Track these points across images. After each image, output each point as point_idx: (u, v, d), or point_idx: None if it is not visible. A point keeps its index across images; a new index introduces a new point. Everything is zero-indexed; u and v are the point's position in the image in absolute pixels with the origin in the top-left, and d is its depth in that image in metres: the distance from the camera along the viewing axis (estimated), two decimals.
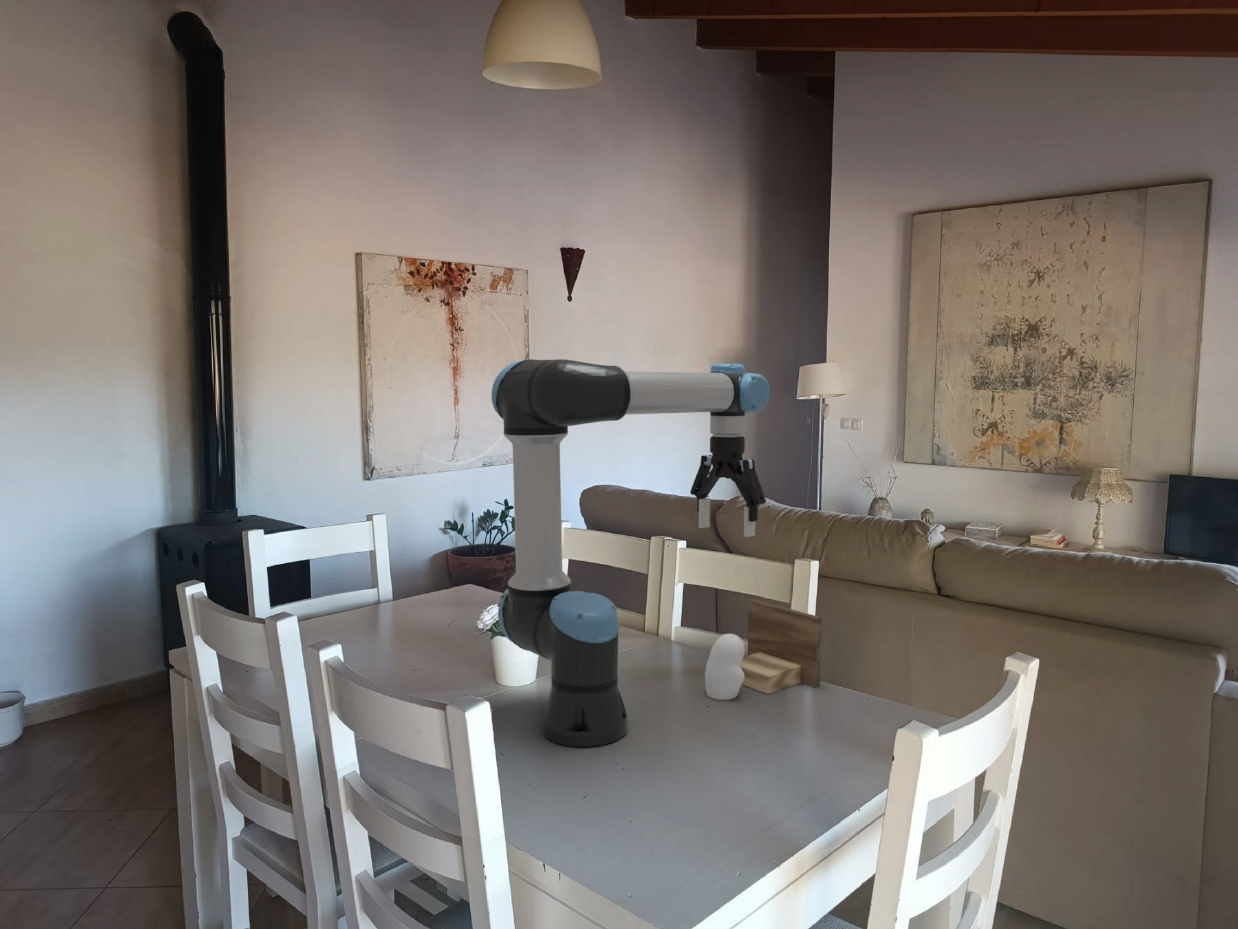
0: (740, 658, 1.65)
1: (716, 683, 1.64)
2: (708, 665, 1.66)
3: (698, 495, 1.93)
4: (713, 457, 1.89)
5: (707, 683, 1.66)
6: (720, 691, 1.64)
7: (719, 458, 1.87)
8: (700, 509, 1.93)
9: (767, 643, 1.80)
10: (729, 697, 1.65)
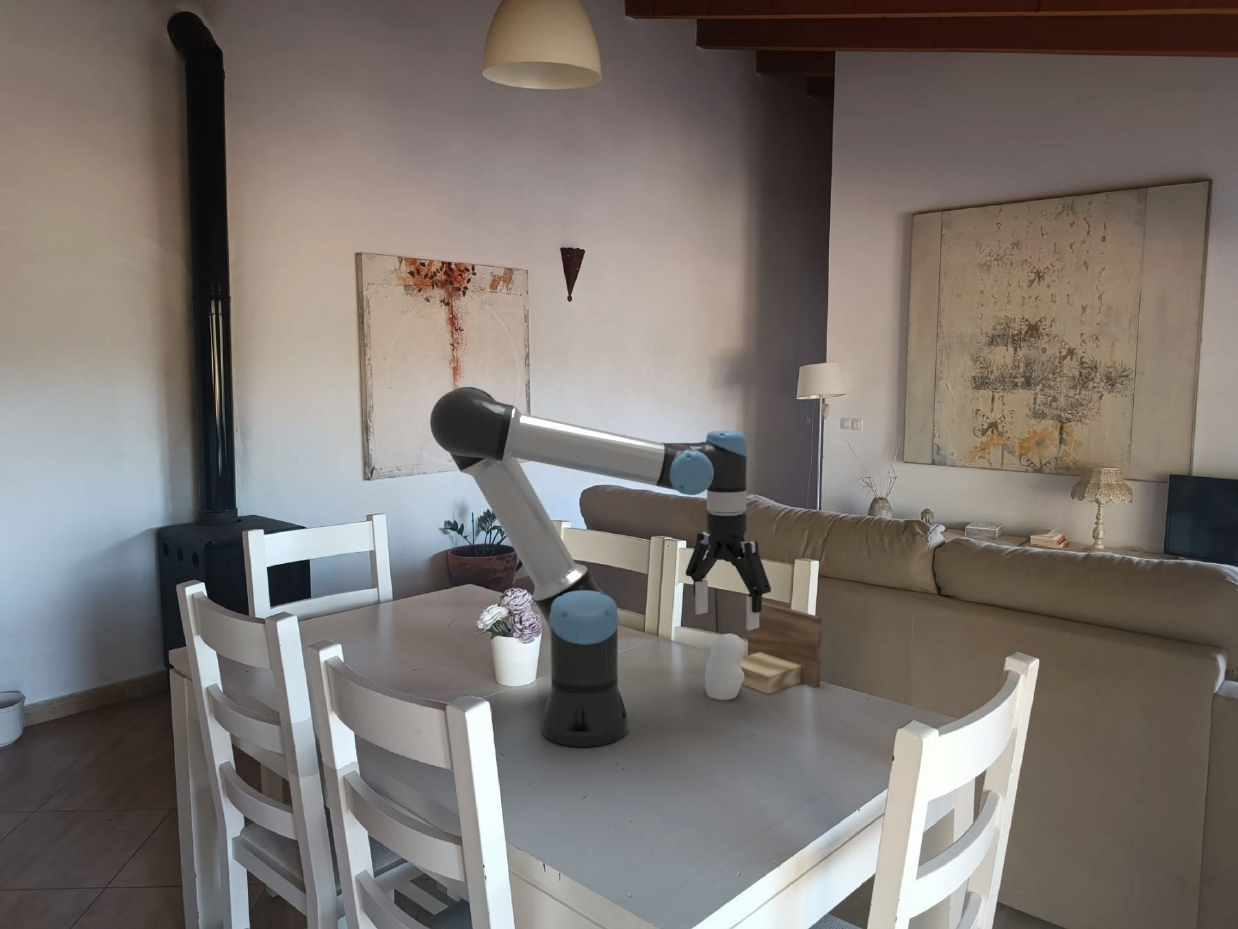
0: (740, 658, 1.65)
1: (716, 683, 1.64)
2: (708, 665, 1.66)
3: (694, 577, 1.70)
4: (711, 536, 1.66)
5: (707, 683, 1.66)
6: (720, 691, 1.64)
7: (717, 538, 1.65)
8: (697, 593, 1.70)
9: (767, 643, 1.80)
10: (729, 697, 1.65)
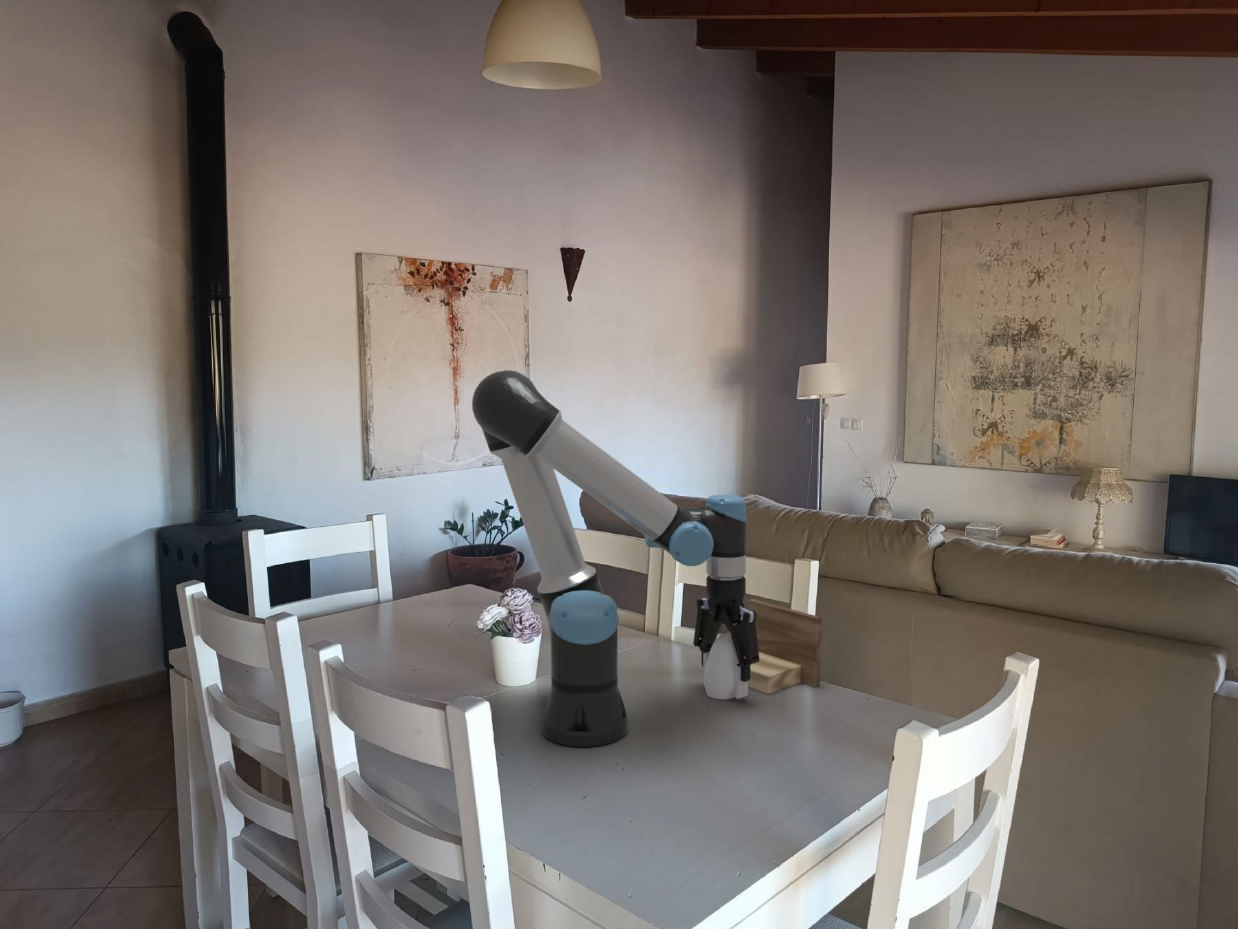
0: None
1: (715, 683, 1.64)
2: (707, 665, 1.66)
3: (702, 648, 1.70)
4: (709, 598, 1.67)
5: (706, 683, 1.66)
6: (720, 691, 1.64)
7: (716, 598, 1.66)
8: (705, 665, 1.69)
9: (767, 643, 1.80)
10: (728, 697, 1.65)
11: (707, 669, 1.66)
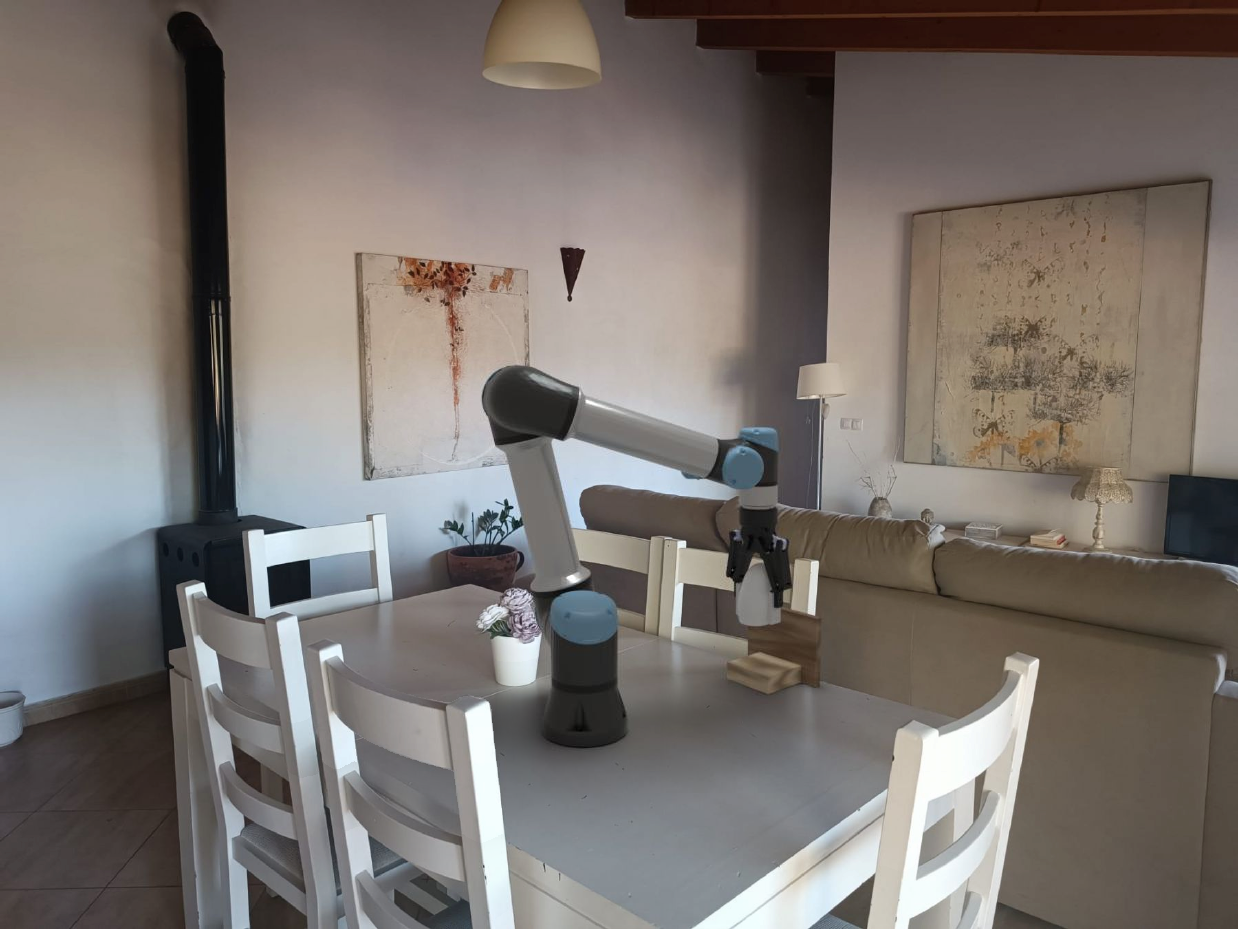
0: None
1: (749, 610, 1.69)
2: (741, 593, 1.71)
3: (735, 578, 1.74)
4: (742, 529, 1.72)
5: (740, 610, 1.71)
6: (753, 618, 1.69)
7: (748, 528, 1.70)
8: (737, 594, 1.74)
9: (767, 643, 1.80)
10: (762, 623, 1.69)
11: (740, 597, 1.70)
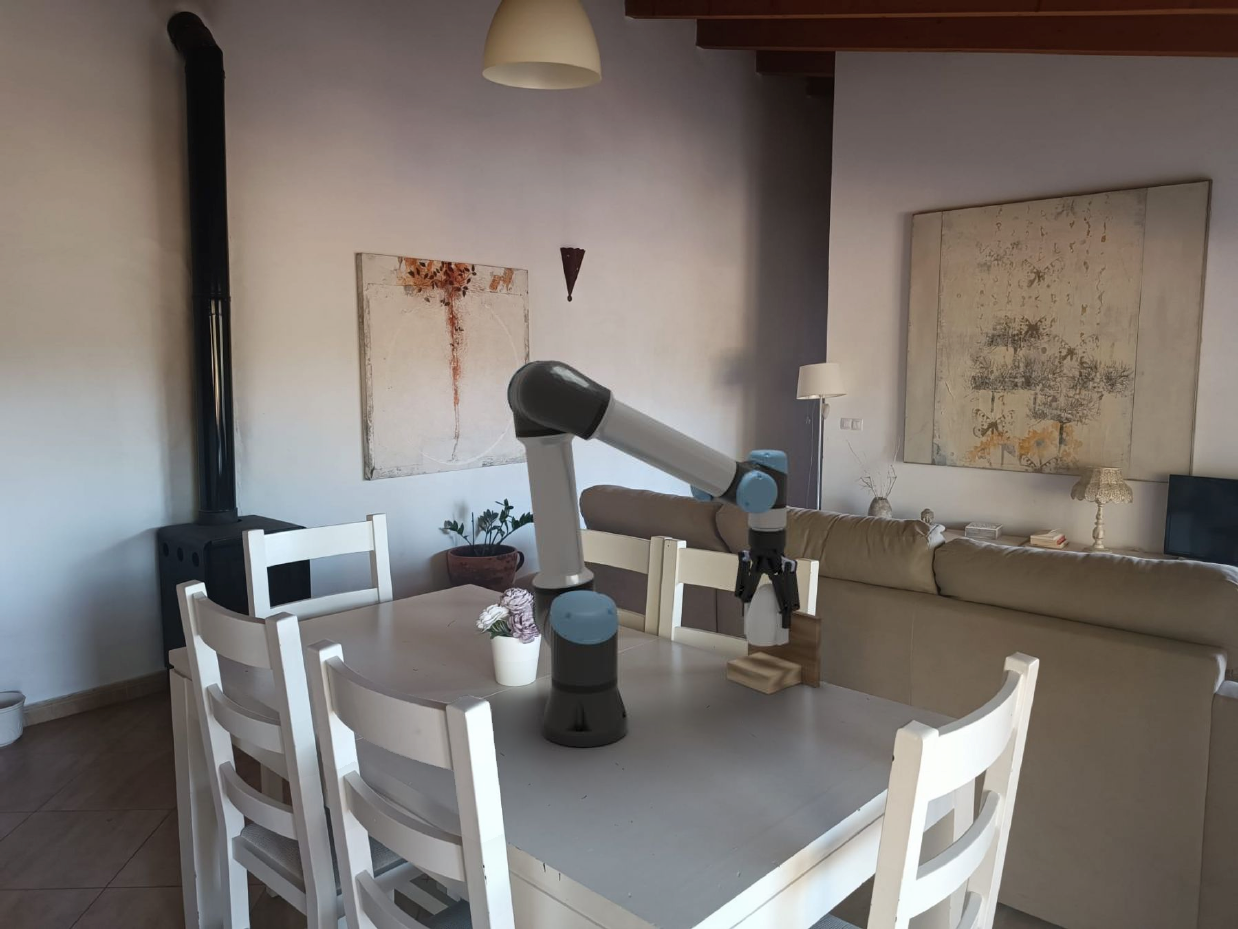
0: None
1: (757, 630, 1.71)
2: (749, 613, 1.73)
3: (743, 598, 1.76)
4: (751, 550, 1.74)
5: (748, 630, 1.73)
6: (762, 638, 1.71)
7: (757, 549, 1.73)
8: (746, 614, 1.76)
9: None
10: (770, 644, 1.71)
11: (749, 617, 1.73)
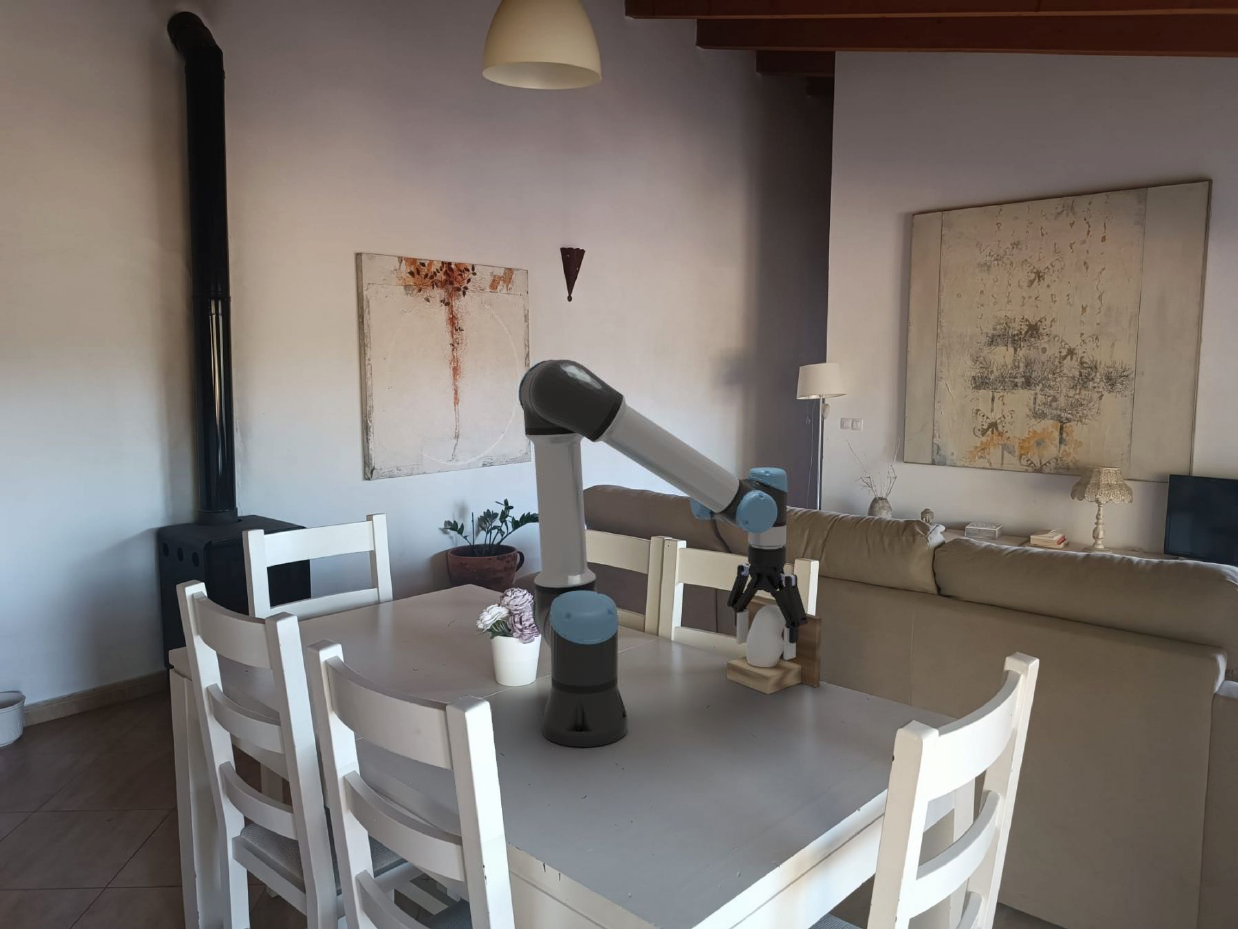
0: (782, 628, 1.72)
1: (758, 651, 1.71)
2: (750, 634, 1.73)
3: (736, 608, 1.78)
4: (751, 567, 1.74)
5: (748, 651, 1.73)
6: (762, 659, 1.71)
7: (758, 569, 1.73)
8: (738, 624, 1.78)
9: None
10: (769, 665, 1.72)
11: (750, 638, 1.73)
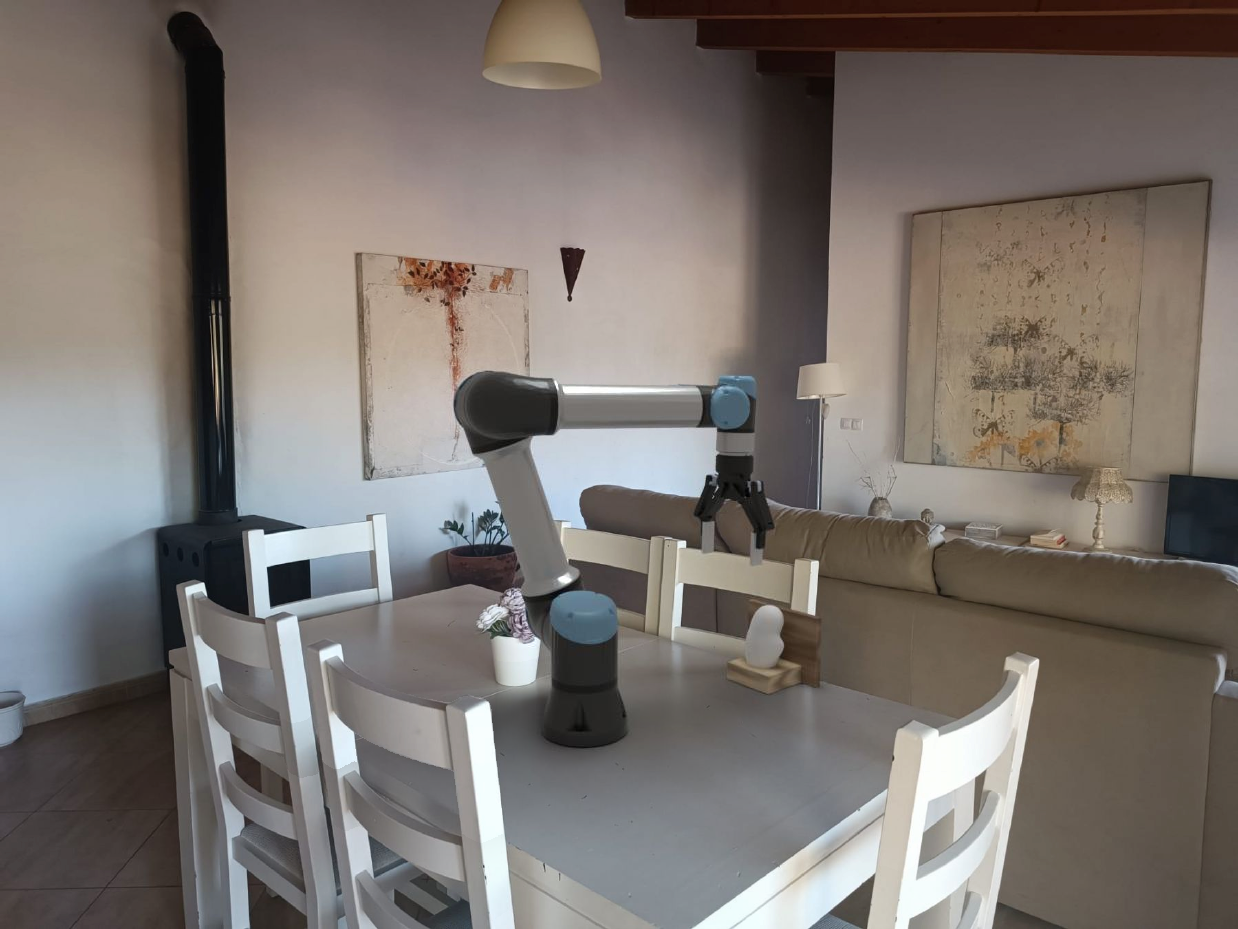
0: (780, 628, 1.72)
1: (757, 652, 1.71)
2: (749, 635, 1.73)
3: (702, 517, 1.77)
4: (719, 477, 1.73)
5: (748, 652, 1.73)
6: (761, 660, 1.71)
7: (725, 478, 1.72)
8: (703, 533, 1.77)
9: None
10: (769, 665, 1.72)
11: (748, 639, 1.73)
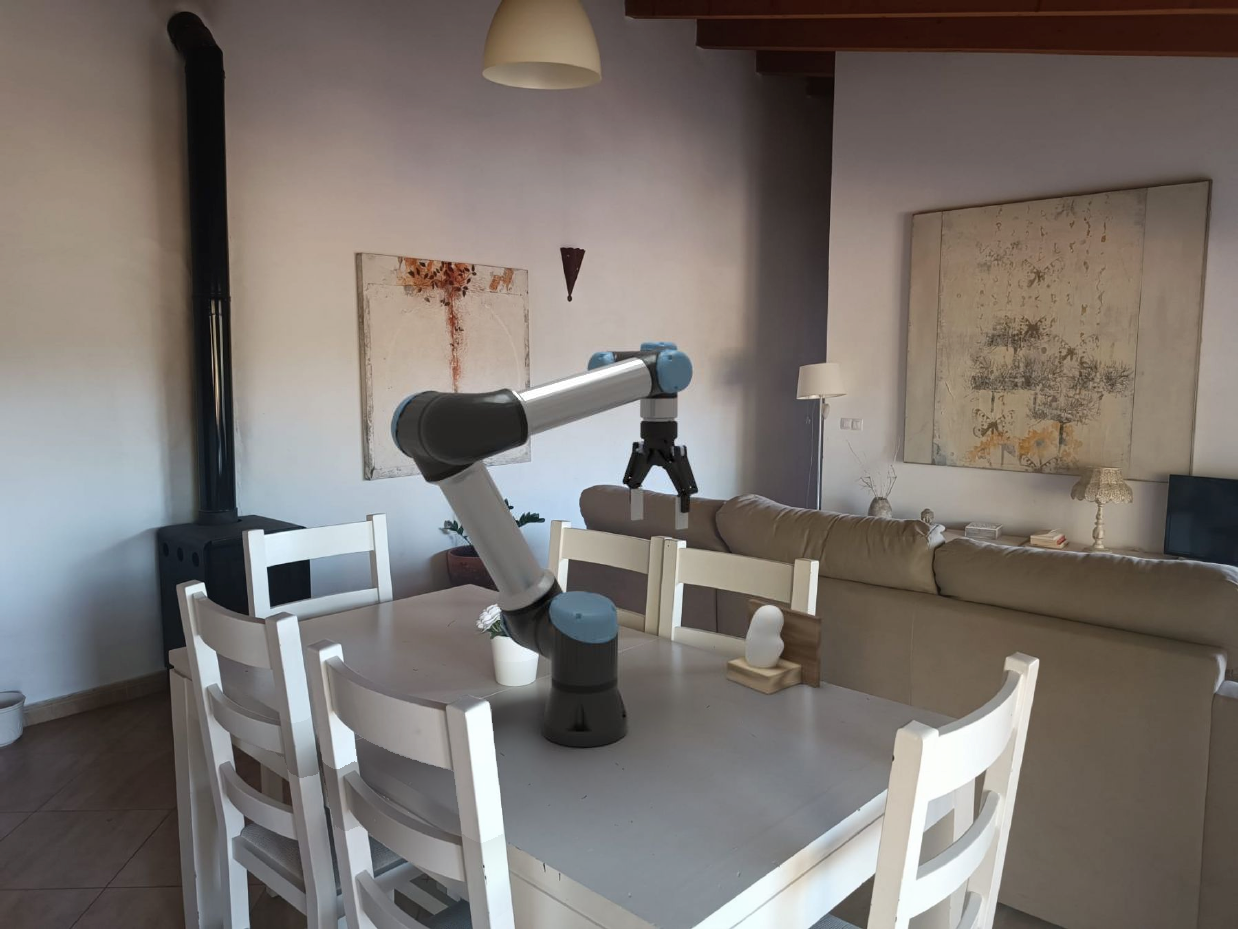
0: (780, 628, 1.72)
1: (757, 652, 1.71)
2: (749, 635, 1.73)
3: (630, 485, 1.79)
4: (644, 443, 1.75)
5: (748, 652, 1.73)
6: (761, 660, 1.71)
7: (650, 444, 1.73)
8: (632, 500, 1.78)
9: None
10: (769, 665, 1.72)
11: (748, 639, 1.73)
